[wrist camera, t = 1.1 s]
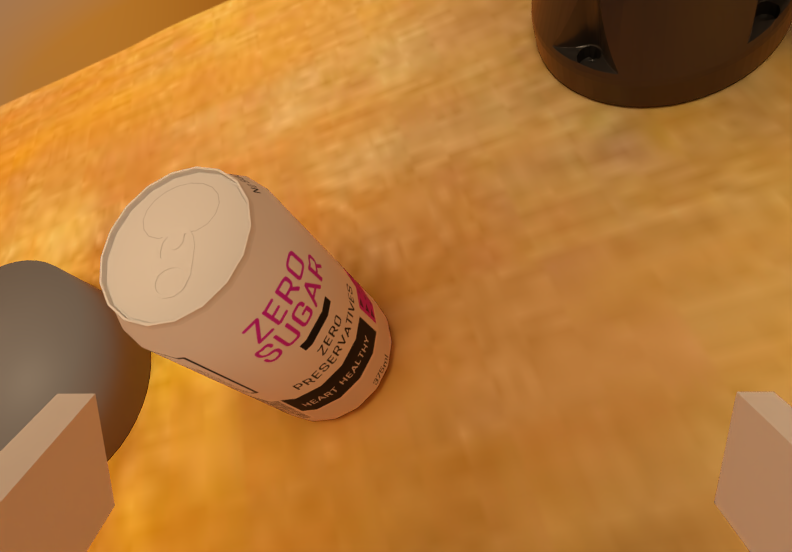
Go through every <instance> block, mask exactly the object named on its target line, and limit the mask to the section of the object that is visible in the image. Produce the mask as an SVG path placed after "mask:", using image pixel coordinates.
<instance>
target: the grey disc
mask: <svg viewBox="0 0 792 552" xmlns="http://www.w3.org/2000/svg"><path fill="white" fill-rule="evenodd" d="M150 367H151V355H150V351H149V350H147V349H145V348H143V347H141V346H140V345H139V344H138V343H137V342H136V341H135V340H134V339H133V338H132V337H131V336H130V335H129V334H127V333H126V332H125V331H124V330H123V328H122V326H121V324H120V322H119V320H118V317H117V315H116V313H115V311H113V310H112V309H111V308H110V307H109V306H108V305H107V302H106V300H105V297H104V294H103V291H101V290H99V289H97V288H96V287H94V286H92V285H90V284H88V283H86V282H84V281H82V280H80V279H78V278H76V277H75V276H73V275H71V274H69V273H67V272H65V271H63V270H61V269H59V268H57V267H56V266H53V265H51V264H48V263H46V262H41V261H28V260H26V261H19V262H14V263H10V264H7V265H4V266H1V267H0V451H1V450H2V449H3V448H4V447H5V446H6V445H7V444H8V443H9V442H10V441H11V440H12V439H13V438H14V437H15V436H16V435H17V434H18V433H19V432H20V431H21V430H22V429H23V428H24V427H25V426H26V425H27V424H28V423H29V422H30V421H31V420H32V419H33V418H34V417H35V416H36V415H37V414H38V413H39V412H40V411H41V410H42V409H43V408H44V407H45V406H46V405H47V404H48V403H49V402H50V401H51V400H52V399H53V398H54V397H55V396H56V395H57V394H95V395H96V401H97V407H98V412H99V418H100V424H101V430H102V435H103V441H104V447H105V453H106V458H107V461H108V460H109V459H110V458H111V457H112V455H113V454H114V453H115V452H116V451H117V449H118V448H119V447H120V446H121V444H122V443H123V441H124V440H125V438H126V437H127V435H128V434H129V432H130V430H131V428H132V426H133V425H134V423H135V421H136V419H137V417H138V414H139V412H140V410H141V407H142V404H143V401H144V398H145V395H146V392H147V387H148V382H149V377H150Z"/></svg>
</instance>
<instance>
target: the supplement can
mask: <svg viewBox="0 0 792 552" xmlns="http://www.w3.org/2000/svg"><path fill="white" fill-rule="evenodd" d="M100 285H101V288H102V291H103V294H104V297H105V300H106V302H107V305H108V306H109V307H110V308H111V309H112V310H113V311H115V313H116V315H117V317H118V320H119V322H120V324H121V326H122V328H123V330H124V331H125V332H126V333H127V334H129V335H130V336H131V337H132V338H133V339H134V340H135V341H136V342H137V343H138V344H139V345H140V346H141V347H143V348H145V349H147V350H149V351H152V352H154V353H156V354H158V355H160V356H163V357H165V358H167V359H169V360H171V361H174V362H176V363H178V364H180V365H182V366H185V367H187V368H189V369H191V370H193V371H196V372H198V373H200V374H202V375H204V376H207V377H209V378H211V379H213V380H215V381H218V382H220V383H222V384H224V385H226V386H229V387H231V388H233V389H235V390H237V391H240V392H242V393H244V394H246V395H248V396H251V397H253V398H255V399H257V400H259V401H262V402H264V403H266V404H268V405H270V406H273V407H275V408H277V409H279V410H281V411H284V412H286V413H288V414H290V415H293V416H296V417H300V418H303V419H306V420H310V421H319V420H329V419H336V418H338V417H340V416H342V415H344V414H346V413H348V412H350V411H352V410H354V409H356V408H358V407H359V406H360V405H361V404H362V403H363V402H364V401H365V400H366V399H367V398H368V397H369V396H370V395H371V394H372V393H373V392H374V391H375V390H376V389H377V387H378V385H379V383H380V381H381V379H382V377H383V375H384V373H385V371H386V369H387V367H388V363H389V356H390V350H391V343H392V341H391V336H390V331H389V326H388V321H387V318H386V317H385V315H384V314H383V312H382V311H381V309H380V308H379V306H378V305H377V303H376V302H375V300H374V299H373V298H372V297H371V296H370V295H369V294H368V293H367V292H366V291H365V290H364V289H363V288H362V287H361V286H360V285H359V284H358V283H357V282H356V281H355V280H354V279H353V278H352V276H351V275H350V274H349V273H348V272H347V271H346V270H345V269H344V268H343V267H342V266H341V265H340V264H339V263H338V262H337V261H336V260H335V259H334V258H333V257H332V256H331V255H330V254H329V253H328V252H327V250H326V249H325V248H324V247H323V246H322V245H321V244H320V243H319V242H318V241H317V240H316V239H315V238H314V237H313V236H312V235H311V234H310V233H309V232H308V231H307V230H306V229H305V228H304V227H303V226H302V224H301V223H300V222H299V221H298V220H297V219H296V218H295V217H294V216H293V215H292V214H291V213H290V212H289V211H288V210H287V209H286V208H285V207H284V206H283V205H282V204H281V203H280V202H279V201H278V200H277V198H276V197H275V196H274V195H273V194H272V193H271V192H270V191H269V190H268V189H266V188H265V187H263V186H261V185H260V184H258V183H256V182H255V181H253V180H251V179H250V178H248V177H246V176H239V175H232V174H226V173H224V172H223V171H221V170H220V169H214V168H205V167H192V168H188V169H184V170H180V171H176V172H172V173H170V174H168V175H166V176H165V177H163V178H161V179H159V180H158V181H156V182H154V183H152V184H151V185H149V186H147V187H146V188H145V189H144V190H143V191H142V192H141V193H140V194H139V195H138V196H137V197H136V198H134V199H133V200H132V201H131V202H130V203H129V204H128V205H127V206H126V207H125V209H124V210H123V212H122V213H121V215H120V216H119V218H118V219H117V221H116V222H115V224H114V225H113V227H112V228H111V230H110V232H109V235H108V238H107V241H106V243H105V246H104V249H103V252H102V255H101V262H100Z"/></svg>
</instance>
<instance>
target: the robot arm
mask: <svg viewBox="0 0 792 552" xmlns="http://www.w3.org/2000/svg"><path fill="white" fill-rule="evenodd" d="M791 21H792V0H532V22H533V28H534V33H535V38H536V43H537V47H538V51H539V53H540V56H541V58H542V60H543V62H544V63H545V65H546V66H547V68H548V69H549V71H550V72H551V73H552V74H553V75H554V76H555V77H556V78H557V79H558V80H559V81H560V82H562V83H563V84H564V85H566V86H567V87H569V88H570V89H572V90H574V91H575V92H577V93H579V94H581V95H584V96H586V97H588V98H591V99H594V100H597V101H601V102H604V103H609V104H614V105H620V106H630V107H653V106H664V105H672V104H677V103H682V102H686V101H690V100H694V99H697V98H700V97H704V96H706V95H709V94H712V93H714V92H716V91H719V90H721V89H723V88H725V87H727V86H729V85H731V84H733V83H735V82H736V81H738V80H740V79H742V78H743V77H744V76H746V75H747V74H749V73H750V72H752V71H753V70H754V69H756V68H757V67H758V66H759V65H760V64H761V63H763V62H764V61H765V60H766V59H767V58H768V57H769V56H770V55H771V54H772V52H773V51H774V50H775V49H776V48H777V46H778V45H779V44H780V42H781V41H782V39H783V38H784V36H785V34H786V32H787V30H788V28H789V26H790V24H791ZM714 503H715V504H716V506H717V507H718V509H719V510H720V511H721V513H722V514H723V515H724V517H725V518H726V519H727V521H728V522H729V524H730V525H731V526H732V528H733V529H734V530H735V532H736V533H737V535H738V536H739V537H740V539H741V540H742V541H743V543H744V544H745V545H746V547H747V548H748V550H749V551H750V552H792V407H791V406H790V405H789V404H787V403H786V402H785V401H784V400H783V399H782V398H780V397H779V396H778V395H777V394H776V393H775V392H737V394H736V398H735V403H734V408H733V413H732V418H731V423H730V428H729V433H728V438H727V442H726V447H725V452H724V457H723V462H722V467H721V472H720V477H719V481H718V486H717V491H716V496H715V501H714ZM114 506H115V504H114V499H113V493H112V487H111V481H110V476H109V470H108V464H107V458H106V453H105V447H104V441H103V435H102V430H101V424H100V418H99V412H98V407H97V401H96V395H95V394H57V395H56V396H55V397H54V398H53V399H52V400H51V401H50V402H49V403H48V404H47V405H46V406H45V407H44V408H43V409H42V410H41V411H40V412H39V413H38V414H37V415H36V416H35V417H34V418H33V419H32V420H31V421H30V422H29V423H28V424H27V425H26V426H25V427H24V428H23V429H22V430H21V431H20V432H19V433H18V434H17V435H16V436H15V437H14V438H13V439H12V440H11V441H10V442H9V443H8V444H7V445H6V446H5V447H4V448H3V449H2V450H1V451H0V552H87V550H88V548H89V547H90V545H91V543H92V542H93V540H94V539H95V537H96V535H97V534H98V532H99V530H100V529H101V527H102V525H103V524H104V522H105V521H106V519H107V517H108V516H109V514H110V512H111V511H112V509H113V507H114Z"/></svg>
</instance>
